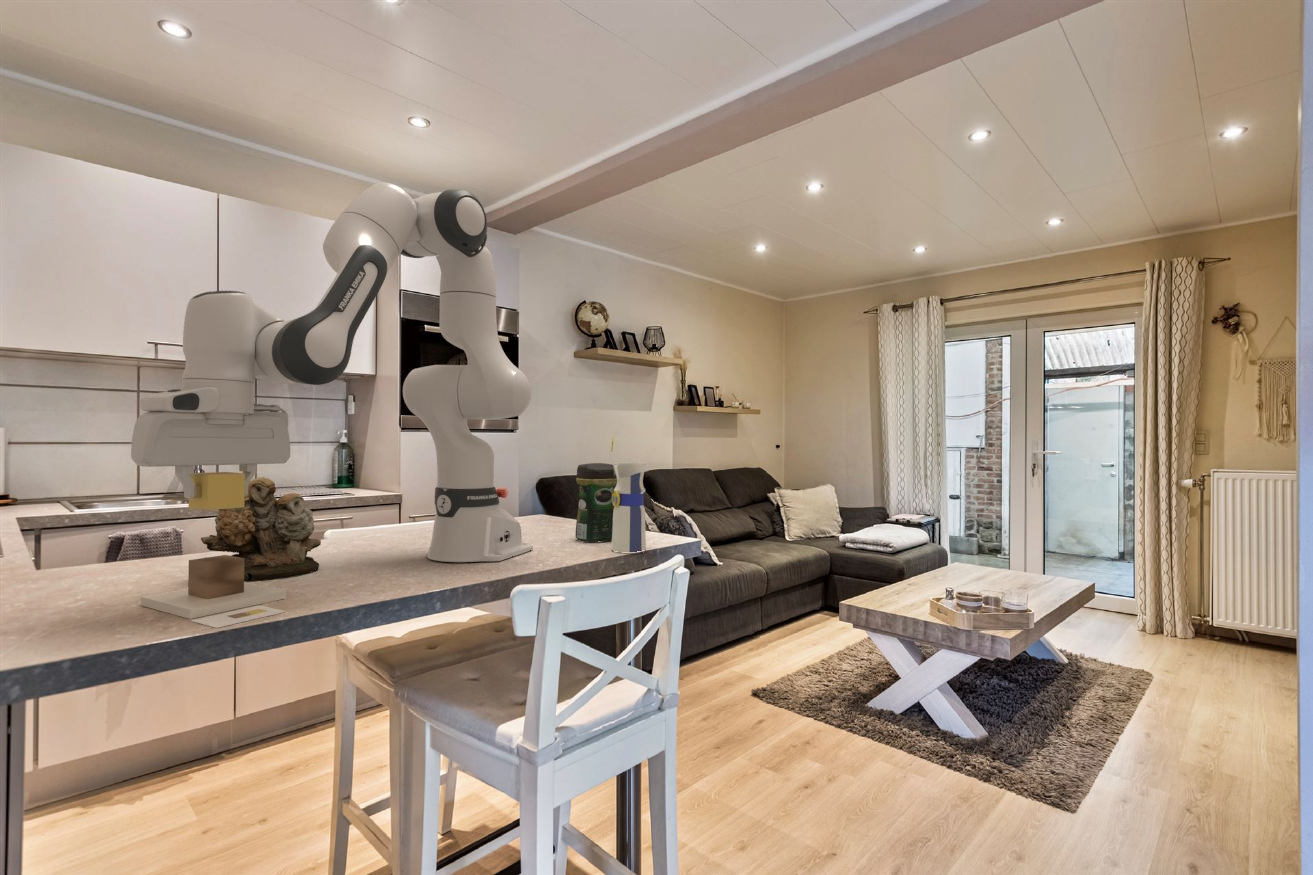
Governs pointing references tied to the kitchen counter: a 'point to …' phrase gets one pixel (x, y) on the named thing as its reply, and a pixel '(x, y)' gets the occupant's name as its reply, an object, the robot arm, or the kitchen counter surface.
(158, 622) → the kitchen counter surface
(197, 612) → the plate
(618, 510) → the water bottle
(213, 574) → the walnut block
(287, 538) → the three owls sculpture
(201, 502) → the mustard block
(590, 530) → the coffee jar
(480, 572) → the kitchen counter surface
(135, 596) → the kitchen counter surface
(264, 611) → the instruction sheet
